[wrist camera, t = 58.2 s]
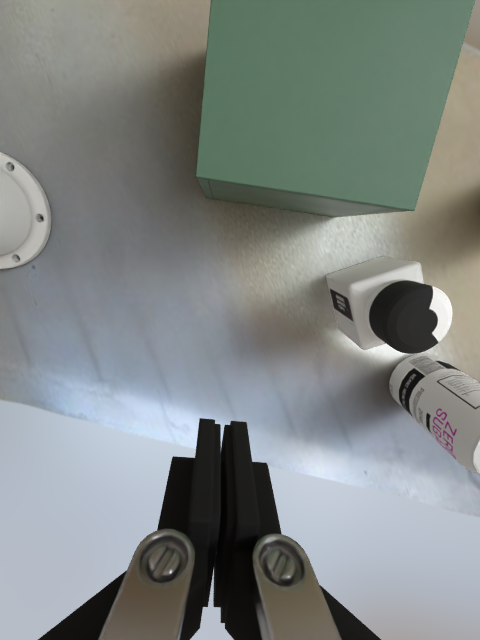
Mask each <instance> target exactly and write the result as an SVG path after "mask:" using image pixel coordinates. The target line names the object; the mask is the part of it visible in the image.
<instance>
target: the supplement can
mask: <svg viewBox="0 0 480 640" xmlns="http://www.w3.org/2000/svg"><path fill="white" fill-rule="evenodd" d="M389 386H390V392H391V394H392V396H393V398H394V399H395V400H396V401H397V402H398V403H399V404H400V405H401V406H402V407H403V408H404V409H405V410H406V411H407V412H408V413H409V414H410V415H411V416H412V417H413V418H414V419H415V420H416V421H417V422H418V423H419V424H420V425H421V426H422V427H423V428H424V429H425V430H426V431H427V432H428V433H429V434H430V435H431V436H432V437H433V438H434V439H435V440H436V441H437V442H438V443H439V444H440V445H441V446H442V447H443V448H445V449H446V450H447V451H448V452H449V453H450V454H451V455H452V456H453V457H454V458H455V459H456V460H457V461H458V462H459V463H460V464H461V465H462V466H463V467H465V468H466V469H467V470H469V471H471V472H474V473H477V474H480V382H478V381H477V380H475V379H473V378H472V377H470V376H468V375H467V374H465V373H463V372H462V371H460V370H458V369H457V368H455V367H453V366H452V365H450V364H448V363H447V362H445V361H443V360H441V359H440V358H438V357H436V356H434V355H430V354H416V355H413V356H410V357H408V358H406V359H405V360H403V361H402V362H401V363H399V364H398V365H397V367H396V368H395V370H394V371H393V372H392V375H391V378H390V381H389Z"/></svg>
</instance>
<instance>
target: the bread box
mask: <svg viewBox="0 0 480 640" xmlns="http://www.w3.org/2000/svg"><path fill="white" fill-rule="evenodd" d="M197 179H198V181H199V183H200V186H201V188H202V190H203V192H204V194H205V196H206V198H211V199H217V200H224V201H231V202H237V203H244V204H251V205H257V206H264V207H271V208H277V209H284V210H291V211H297V212H304V213H311V214H317V215H324V216H331V217H344V216H356V215H367V214H379V213H390V212H402V211H405V210H399V209H392V208H386V207H379V206H373V205H367V204H360V203H354V202H347V201H341V200H335V199H328V198H322V197H315V196H309V195H303V194H296V193H290V192H283V191H277V190H271V189H264V188H258V187H251V186H245V185H238V184H232V183H226V182H219V181H213V180H206V179H200V178H197Z"/></svg>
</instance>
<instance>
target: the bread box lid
mask: <svg viewBox="0 0 480 640" xmlns="http://www.w3.org/2000/svg"><path fill="white" fill-rule="evenodd" d="M474 3H475V0H211V6H210V18H209V29H208V41H207V52H206V64H205V75H204V87H203V99H202V110H201V122H200V133H199V145H198V156H197V168H196V177H197V178H200V179H206V180H213V181H219V182H226V183H232V184H238V185H245V186H251V187H258V188H264V189H271V190H277V191H283V192H290V193H296V194H303V195H309V196H315V197H322V198H328V199H335V200H341V201H347V202H354V203H360V204H367V205H373V206H379V207H386V208H392V209H399V210H405V211H414V210H415V207H416V204H417V200H418V197H419V193H420V190H421V186H422V183H423V179H424V176H425V172H426V169H427V165H428V162H429V159H430V155H431V152H432V148H433V145H434V141H435V138H436V134H437V131H438V127H439V124H440V120H441V117H442V114H443V110H444V107H445V103H446V100H447V96H448V93H449V89H450V86H451V82H452V79H453V75H454V72H455V69H456V65H457V62H458V58H459V55H460V51H461V48H462V44H463V41H464V37H465V33H466V30H467V27H468V24H469V20H470V16H471V13H472V10H473V6H474Z"/></svg>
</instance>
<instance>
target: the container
mask: <svg viewBox="0 0 480 640" xmlns="http://www.w3.org/2000/svg"><path fill="white" fill-rule="evenodd" d="M326 280H327V284H328V288H329V292H330V296H331V301H332V305H333V309H334V313H335V317H336V321H337V325H338V329H339V330H340V331H342V332H343V333H344V334H345V335H346V336H347V337H349V338H350V339H351V340H352V341H353V342H355V343H356V344H357V345H358V346H359V347H360V348H362V349H363V350H367V349H370V348H373V347H376V346H379V345H382V344H385V343H387V344H388V345H389V346H391V347H392V348H394V349H395V350H397V351H400V352H402V353H408V354H414V353H420V352H423V351H426V350H428V349H430V348H432V347H433V346H435V345H436V344H438V343H439V342H440V341H441V340H442V339H443V338H444V336H445V335H446V333H447V332H448V330H449V328H450V325H451V321H452V306H451V303H450V300H449V299H448V297H447V296H446V294H445V293H444V292H442V291H441V290H440V289H438V288H436V287H433V286H429V285H426V284H424V283H423V276H422V269H421V264H420V263H419V262H414V261H409V260H403V259H397V258H391V257H386V256H381V257H378V258H375V259H372V260H369V261H366V262H363V263H360V264H357V265H354V266H351V267H348V268H345V269H342V270H339V271H336V272H333V273H330V274H328V275H327V276H326Z"/></svg>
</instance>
